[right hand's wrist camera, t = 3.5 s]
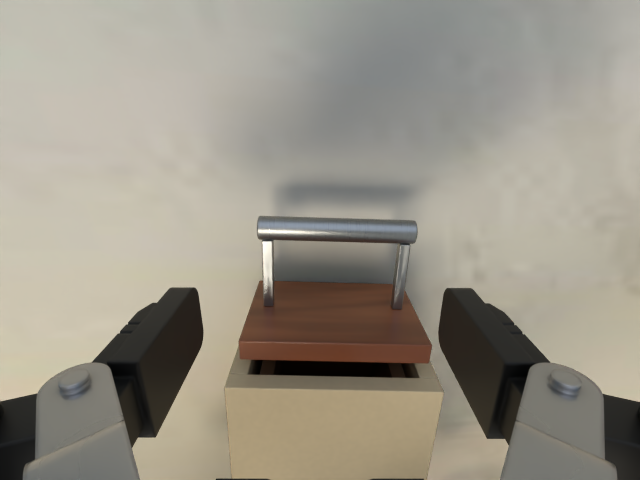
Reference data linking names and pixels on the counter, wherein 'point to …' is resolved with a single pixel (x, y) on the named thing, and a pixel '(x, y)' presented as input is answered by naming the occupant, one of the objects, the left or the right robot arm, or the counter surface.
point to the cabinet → (331, 424)
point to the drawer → (334, 308)
